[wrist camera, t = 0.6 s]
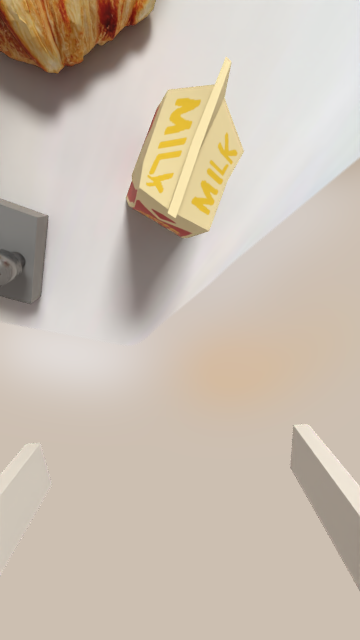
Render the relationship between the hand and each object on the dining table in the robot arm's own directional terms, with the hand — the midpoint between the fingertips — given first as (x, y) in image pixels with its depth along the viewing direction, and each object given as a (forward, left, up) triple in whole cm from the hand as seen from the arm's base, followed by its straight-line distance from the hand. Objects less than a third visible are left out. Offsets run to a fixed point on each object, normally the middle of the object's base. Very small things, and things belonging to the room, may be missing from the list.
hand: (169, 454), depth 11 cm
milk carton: (-13, -3, -27) cm, 30 cm away
